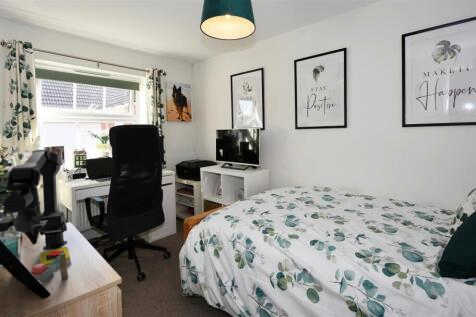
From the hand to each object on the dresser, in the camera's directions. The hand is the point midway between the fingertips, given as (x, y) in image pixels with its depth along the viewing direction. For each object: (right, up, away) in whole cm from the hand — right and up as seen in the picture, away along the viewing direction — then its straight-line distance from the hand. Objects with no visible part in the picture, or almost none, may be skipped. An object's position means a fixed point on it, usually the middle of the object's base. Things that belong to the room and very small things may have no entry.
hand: (34, 243), depth 94 cm
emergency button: (+2, -10, +8) cm, 13 cm away
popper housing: (+5, -11, -4) cm, 13 cm away
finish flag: (+13, -11, -5) cm, 17 cm away
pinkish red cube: (+5, -9, -4) cm, 11 cm away
